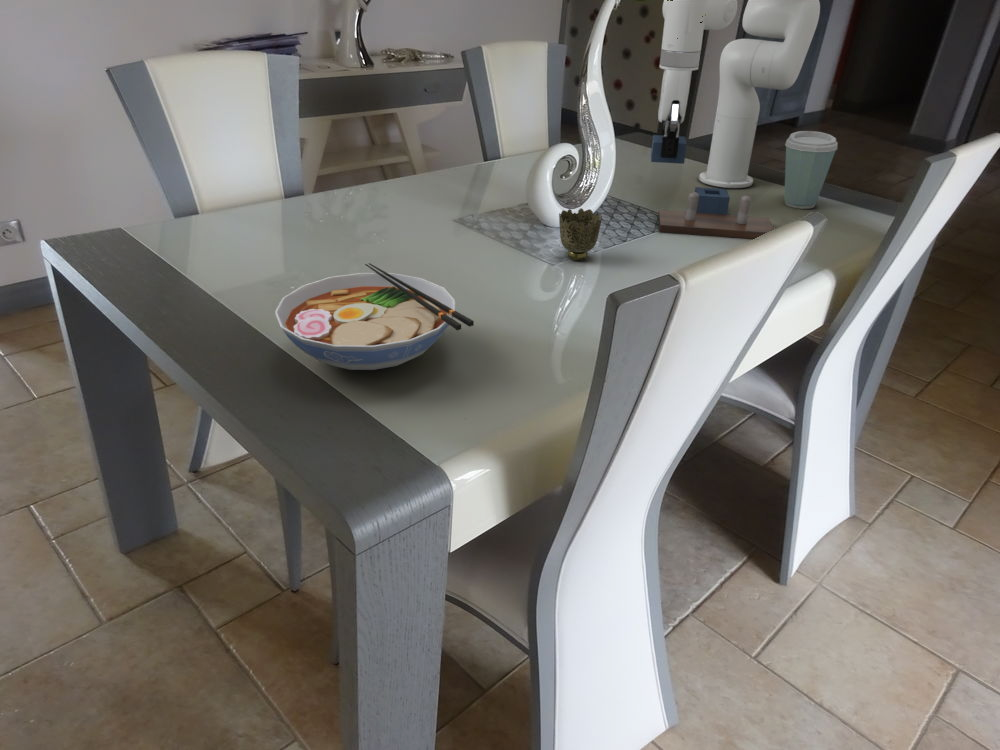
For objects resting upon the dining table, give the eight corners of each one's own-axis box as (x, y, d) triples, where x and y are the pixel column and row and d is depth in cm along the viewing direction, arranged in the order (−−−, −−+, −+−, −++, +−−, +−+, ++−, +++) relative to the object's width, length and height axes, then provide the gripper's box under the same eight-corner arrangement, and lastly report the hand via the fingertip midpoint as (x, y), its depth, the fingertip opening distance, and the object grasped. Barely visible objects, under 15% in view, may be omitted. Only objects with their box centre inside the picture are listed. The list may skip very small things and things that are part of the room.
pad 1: (650, 154, 158) (653, 134, 156) (682, 155, 157) (685, 136, 155) (651, 162, 152) (653, 142, 150) (684, 163, 151) (686, 143, 149)
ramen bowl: (253, 341, 101) (244, 285, 97) (401, 304, 113) (399, 253, 109) (329, 426, 84) (322, 362, 80) (495, 372, 96) (496, 314, 92)
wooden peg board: (658, 216, 155) (662, 183, 151) (767, 224, 152) (774, 190, 148) (659, 232, 146) (664, 197, 142) (775, 240, 143) (783, 205, 140)
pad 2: (692, 205, 162) (695, 186, 160) (723, 207, 162) (726, 189, 160) (694, 214, 157) (697, 195, 155) (726, 216, 156) (730, 197, 154)
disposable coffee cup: (828, 213, 159) (846, 142, 152) (776, 210, 161) (791, 139, 153) (818, 200, 168) (834, 131, 161) (769, 196, 170) (783, 128, 162)
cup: (561, 266, 129) (564, 221, 125) (552, 251, 135) (554, 208, 131) (603, 265, 130) (607, 220, 126) (592, 250, 136) (595, 207, 132)
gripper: (659, 53, 153) (649, 142, 162) (661, 65, 138) (649, 162, 147) (696, 55, 152) (684, 144, 161) (702, 67, 137) (688, 164, 146)
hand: (667, 152), depth 154 cm, fingers closed on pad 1, 6 cm apart
